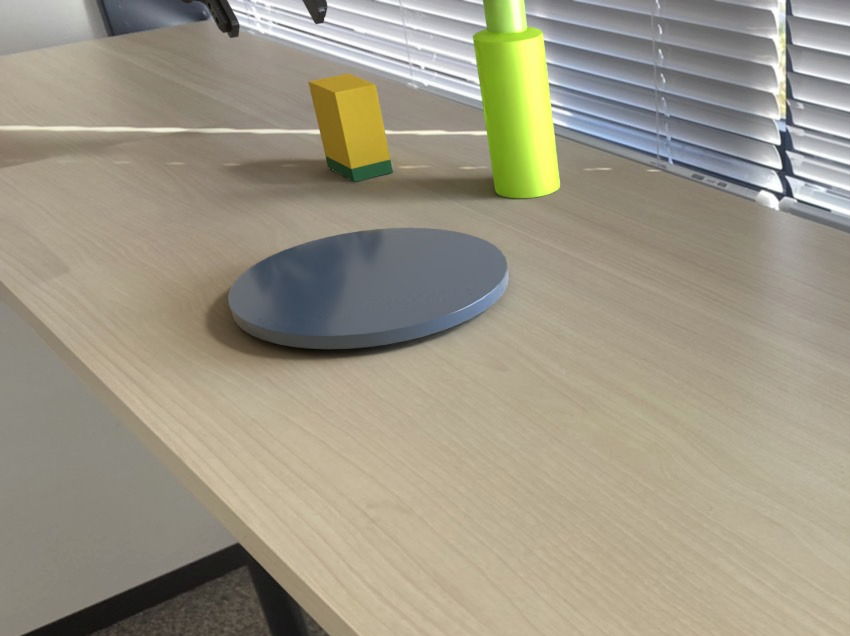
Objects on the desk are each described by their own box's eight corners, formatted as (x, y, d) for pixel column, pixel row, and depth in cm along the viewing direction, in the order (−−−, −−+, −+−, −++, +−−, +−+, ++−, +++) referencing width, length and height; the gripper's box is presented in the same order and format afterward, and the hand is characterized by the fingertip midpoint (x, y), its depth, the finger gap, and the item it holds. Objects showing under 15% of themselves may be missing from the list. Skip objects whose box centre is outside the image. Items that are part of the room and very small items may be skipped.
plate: (365, 383, 75) (360, 361, 74) (175, 317, 84) (168, 296, 83) (565, 277, 89) (562, 257, 88) (382, 230, 98) (378, 211, 97)
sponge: (354, 182, 108) (334, 92, 103) (328, 168, 111) (307, 81, 107) (393, 172, 110) (375, 84, 105) (366, 159, 113) (348, 73, 109)
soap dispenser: (507, 206, 102) (471, -48, 90) (488, 183, 107) (451, -60, 95) (571, 195, 103) (544, -54, 92) (549, 173, 109) (521, -66, 97)
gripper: (124, -146, 105) (208, 10, 104) (276, -158, 112) (354, -12, 112) (124, -84, 111) (203, 62, 111) (268, -100, 118) (342, 38, 118)
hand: (279, 25), depth 111 cm, fingers open, 8 cm apart
